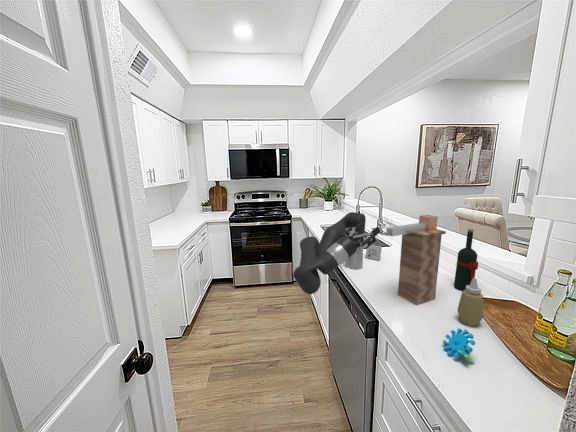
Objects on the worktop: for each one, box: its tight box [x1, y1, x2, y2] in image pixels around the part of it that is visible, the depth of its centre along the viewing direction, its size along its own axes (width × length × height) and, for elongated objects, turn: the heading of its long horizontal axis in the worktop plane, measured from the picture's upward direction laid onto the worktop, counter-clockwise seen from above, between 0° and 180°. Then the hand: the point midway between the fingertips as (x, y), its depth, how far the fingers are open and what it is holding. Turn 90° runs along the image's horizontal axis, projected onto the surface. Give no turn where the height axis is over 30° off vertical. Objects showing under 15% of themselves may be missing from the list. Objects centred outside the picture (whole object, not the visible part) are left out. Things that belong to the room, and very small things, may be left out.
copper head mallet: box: [385, 214, 439, 237], centre depth 107 cm, size 26×5×6 cm, turn 114°
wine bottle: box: [453, 228, 479, 292], centre depth 119 cm, size 8×10×30 cm
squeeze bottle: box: [456, 277, 484, 327], centre depth 95 cm, size 8×8×18 cm
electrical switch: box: [364, 244, 382, 262], centre depth 165 cm, size 9×5×9 cm, turn 50°
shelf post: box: [397, 228, 447, 306], centre depth 113 cm, size 14×12×32 cm
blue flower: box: [442, 327, 476, 365], centre depth 80 cm, size 11×6×10 cm
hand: (371, 226), depth 97 cm, fingers open, 8 cm apart
